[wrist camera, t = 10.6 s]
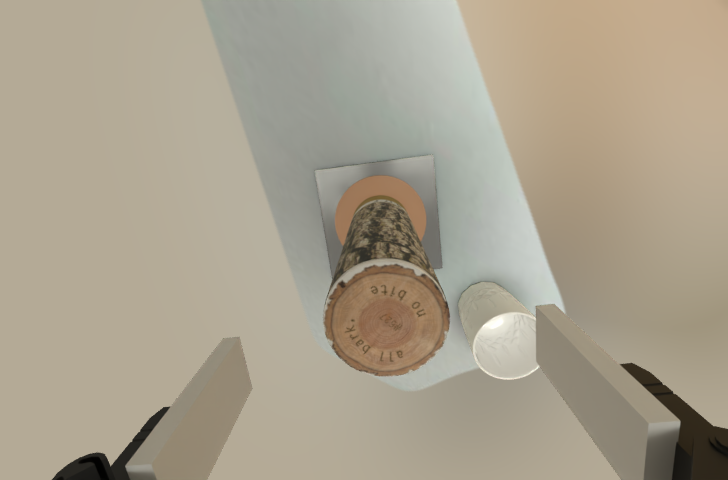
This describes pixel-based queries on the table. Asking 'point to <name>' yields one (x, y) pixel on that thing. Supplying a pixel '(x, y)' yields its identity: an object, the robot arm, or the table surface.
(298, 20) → the table surface
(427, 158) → the coaster
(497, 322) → the white cup
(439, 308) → the brown bark cylinder
